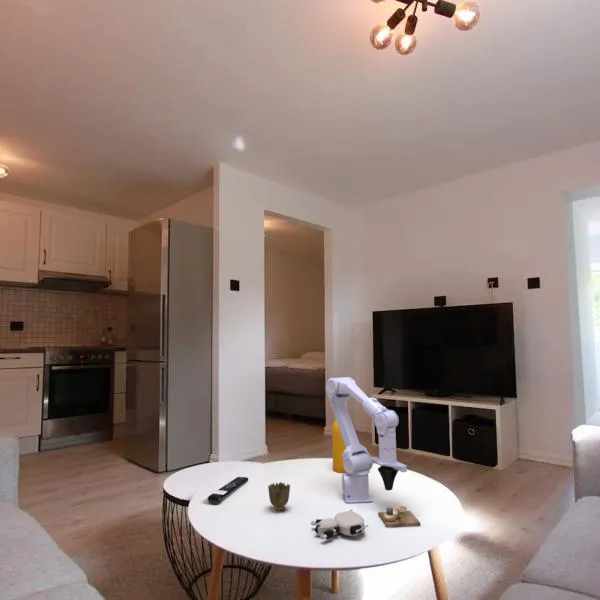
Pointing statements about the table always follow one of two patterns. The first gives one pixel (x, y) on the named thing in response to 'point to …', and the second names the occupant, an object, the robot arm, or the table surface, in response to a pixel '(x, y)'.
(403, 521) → the board
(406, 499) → the table surface
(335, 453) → the beer bottle
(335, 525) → the robot toy
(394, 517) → the link
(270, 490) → the cup
